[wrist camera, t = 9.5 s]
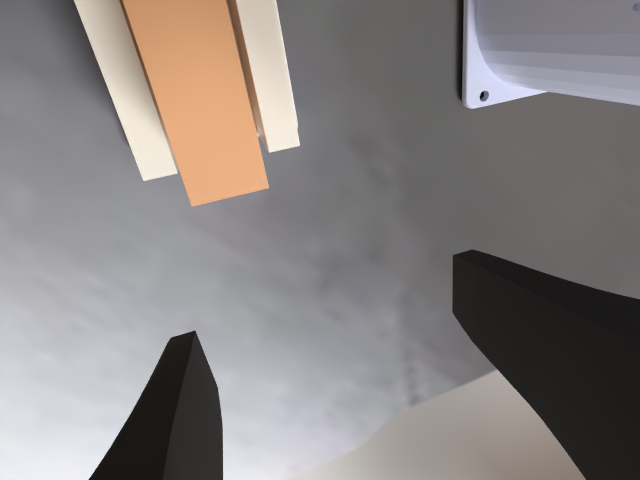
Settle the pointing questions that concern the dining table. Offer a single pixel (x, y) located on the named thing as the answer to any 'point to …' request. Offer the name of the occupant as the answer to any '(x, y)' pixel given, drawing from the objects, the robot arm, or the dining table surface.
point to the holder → (138, 98)
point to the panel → (200, 94)
